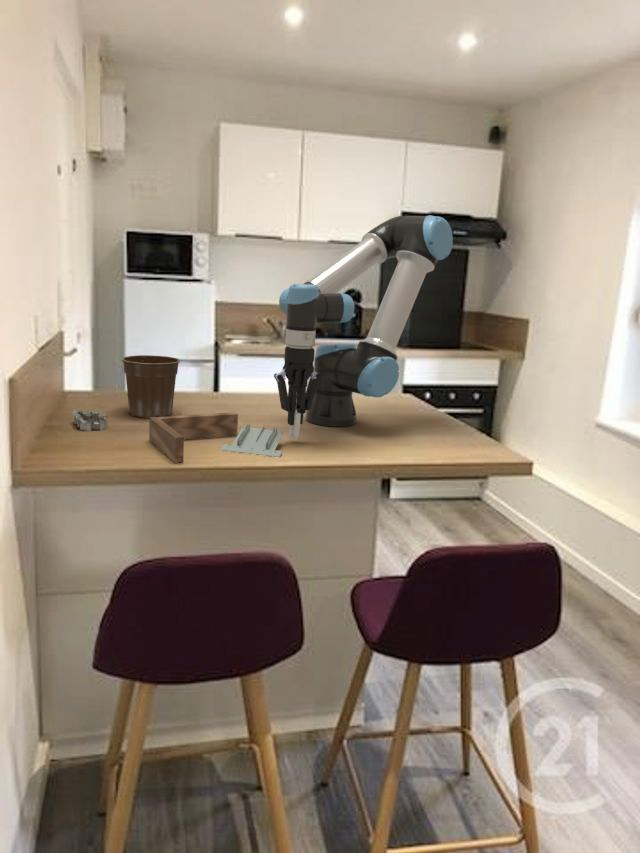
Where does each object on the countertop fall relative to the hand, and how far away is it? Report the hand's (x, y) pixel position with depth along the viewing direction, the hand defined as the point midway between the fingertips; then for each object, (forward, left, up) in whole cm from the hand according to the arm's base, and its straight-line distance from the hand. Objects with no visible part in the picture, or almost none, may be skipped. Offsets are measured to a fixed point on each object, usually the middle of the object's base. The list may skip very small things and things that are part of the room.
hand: (294, 436), depth 179 cm
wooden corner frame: (+24, -2, -2) cm, 24 cm away
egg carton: (+45, -31, -2) cm, 55 cm away
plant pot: (+26, -40, -2) cm, 48 cm away
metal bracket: (+11, +1, -2) cm, 12 cm away
